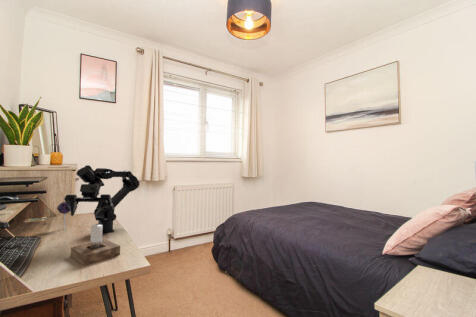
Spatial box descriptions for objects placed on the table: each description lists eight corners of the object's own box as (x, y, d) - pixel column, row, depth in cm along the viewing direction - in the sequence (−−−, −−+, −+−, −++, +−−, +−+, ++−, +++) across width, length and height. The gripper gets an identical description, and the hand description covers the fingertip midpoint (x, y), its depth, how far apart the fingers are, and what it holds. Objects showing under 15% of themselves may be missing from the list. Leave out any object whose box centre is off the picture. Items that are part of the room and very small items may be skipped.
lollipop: (54, 231, 122) (56, 203, 123) (57, 227, 129) (59, 201, 129) (70, 229, 126) (71, 202, 126) (72, 226, 132) (73, 200, 132)
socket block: (105, 247, 101) (105, 239, 102) (120, 254, 94) (120, 245, 94) (70, 256, 91) (71, 247, 91) (84, 265, 83) (84, 255, 83)
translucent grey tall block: (98, 252, 95) (100, 223, 96) (103, 254, 93) (104, 225, 93) (88, 255, 92) (89, 225, 92) (92, 258, 90) (93, 227, 90)
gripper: (66, 177, 107) (53, 205, 96) (111, 177, 111) (102, 204, 100) (73, 192, 114) (61, 219, 103) (114, 192, 119) (107, 218, 108)
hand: (83, 215), depth 104 cm, fingers open, 9 cm apart
